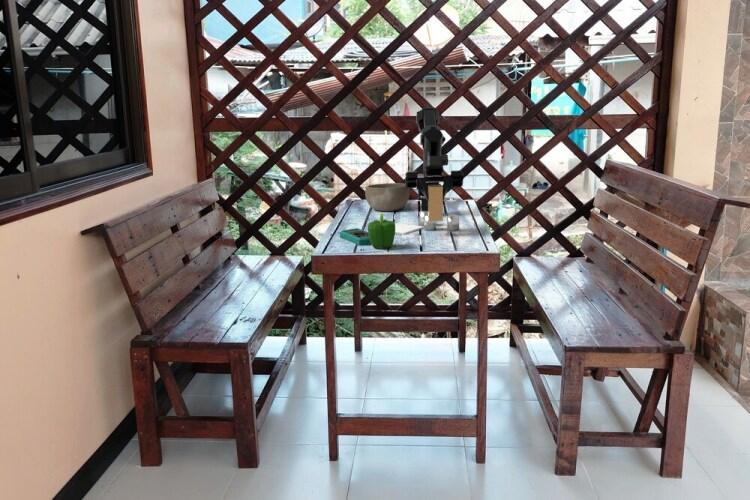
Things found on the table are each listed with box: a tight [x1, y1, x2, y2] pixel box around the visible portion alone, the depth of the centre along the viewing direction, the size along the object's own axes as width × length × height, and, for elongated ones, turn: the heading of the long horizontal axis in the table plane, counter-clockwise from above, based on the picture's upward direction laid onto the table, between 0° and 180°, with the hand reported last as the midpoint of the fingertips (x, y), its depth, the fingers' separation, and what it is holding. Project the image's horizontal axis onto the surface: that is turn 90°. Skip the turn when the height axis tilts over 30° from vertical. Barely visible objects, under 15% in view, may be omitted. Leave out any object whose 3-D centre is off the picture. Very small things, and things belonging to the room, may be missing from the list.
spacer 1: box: [418, 210, 428, 226], centre depth 227 cm, size 4×4×5 cm
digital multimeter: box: [339, 227, 372, 246], centre depth 208 cm, size 7×15×3 cm, turn 29°
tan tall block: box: [428, 184, 444, 222], centre depth 209 cm, size 4×4×11 cm
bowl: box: [364, 182, 410, 212], centre depth 260 cm, size 17×18×10 cm
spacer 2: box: [423, 214, 437, 232], centre depth 220 cm, size 4×4×5 cm
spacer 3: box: [446, 214, 460, 233], centre depth 217 cm, size 4×4×5 cm
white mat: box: [394, 222, 424, 235], centre depth 223 cm, size 12×14×1 cm
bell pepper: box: [367, 213, 396, 249], centre depth 197 cm, size 8×8×10 cm
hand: (435, 200), depth 208 cm, fingers closed on tan tall block, 4 cm apart
